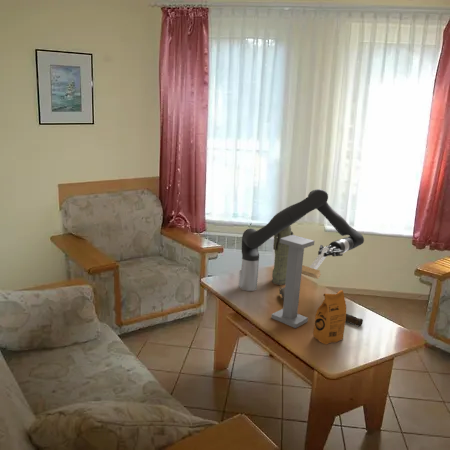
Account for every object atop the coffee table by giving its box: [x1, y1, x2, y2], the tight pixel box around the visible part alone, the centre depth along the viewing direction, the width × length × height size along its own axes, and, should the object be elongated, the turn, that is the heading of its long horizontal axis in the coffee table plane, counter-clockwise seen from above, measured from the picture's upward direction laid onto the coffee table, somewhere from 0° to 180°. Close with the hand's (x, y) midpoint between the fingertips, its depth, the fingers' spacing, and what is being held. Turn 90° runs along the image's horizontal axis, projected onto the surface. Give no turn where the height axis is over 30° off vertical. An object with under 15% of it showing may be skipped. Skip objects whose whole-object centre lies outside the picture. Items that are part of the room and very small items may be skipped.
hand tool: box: [345, 313, 364, 328], centre depth 224 cm, size 19×4×5 cm, turn 45°
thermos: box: [271, 225, 294, 286], centre depth 263 cm, size 9×12×35 cm
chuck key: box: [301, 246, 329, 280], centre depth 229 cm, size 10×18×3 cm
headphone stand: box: [270, 234, 315, 329], centre depth 216 cm, size 14×10×40 cm
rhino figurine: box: [278, 286, 285, 300], centre depth 243 cm, size 4×14×6 cm, turn 18°
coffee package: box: [312, 289, 347, 345], centre depth 203 cm, size 10×12×22 cm
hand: (321, 254), depth 231 cm, fingers closed on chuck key, 2 cm apart
